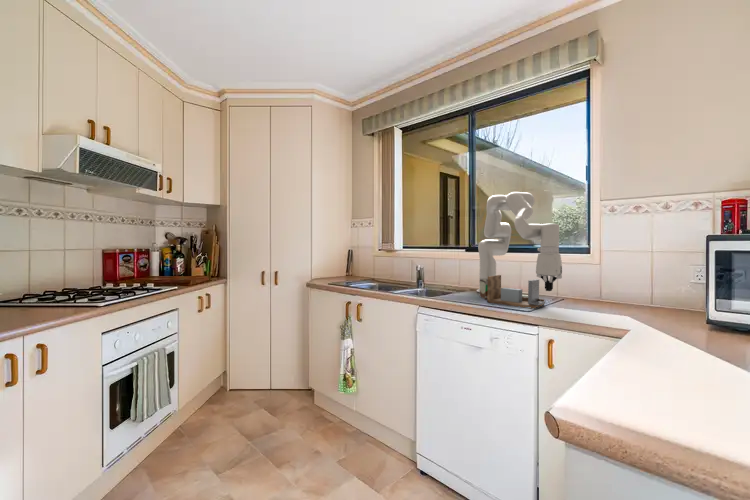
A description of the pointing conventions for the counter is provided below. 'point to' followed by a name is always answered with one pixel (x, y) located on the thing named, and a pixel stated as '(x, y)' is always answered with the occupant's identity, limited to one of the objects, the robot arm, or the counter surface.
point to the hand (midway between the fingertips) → (548, 290)
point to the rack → (495, 294)
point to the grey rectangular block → (511, 294)
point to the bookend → (534, 292)
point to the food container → (483, 288)
